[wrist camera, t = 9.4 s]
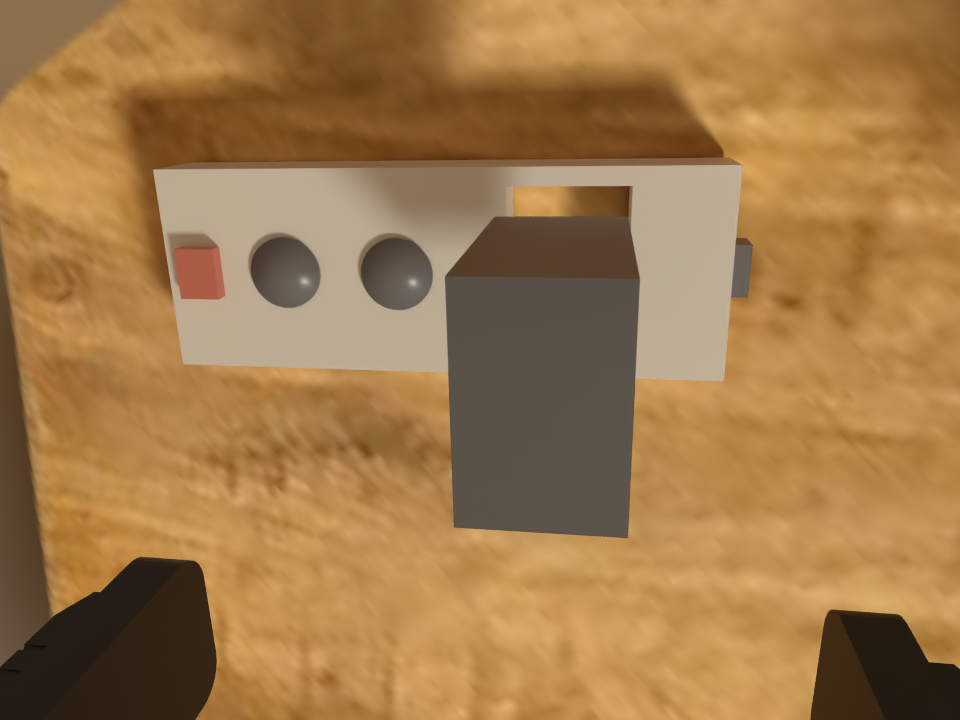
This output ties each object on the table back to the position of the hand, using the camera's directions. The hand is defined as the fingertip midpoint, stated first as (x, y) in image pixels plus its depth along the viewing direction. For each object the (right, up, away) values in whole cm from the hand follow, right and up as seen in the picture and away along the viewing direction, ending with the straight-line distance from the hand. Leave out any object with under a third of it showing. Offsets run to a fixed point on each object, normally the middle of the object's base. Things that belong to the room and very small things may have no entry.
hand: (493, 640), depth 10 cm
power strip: (-1, +8, +23) cm, 24 cm away
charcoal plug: (+2, +5, +14) cm, 15 cm away
